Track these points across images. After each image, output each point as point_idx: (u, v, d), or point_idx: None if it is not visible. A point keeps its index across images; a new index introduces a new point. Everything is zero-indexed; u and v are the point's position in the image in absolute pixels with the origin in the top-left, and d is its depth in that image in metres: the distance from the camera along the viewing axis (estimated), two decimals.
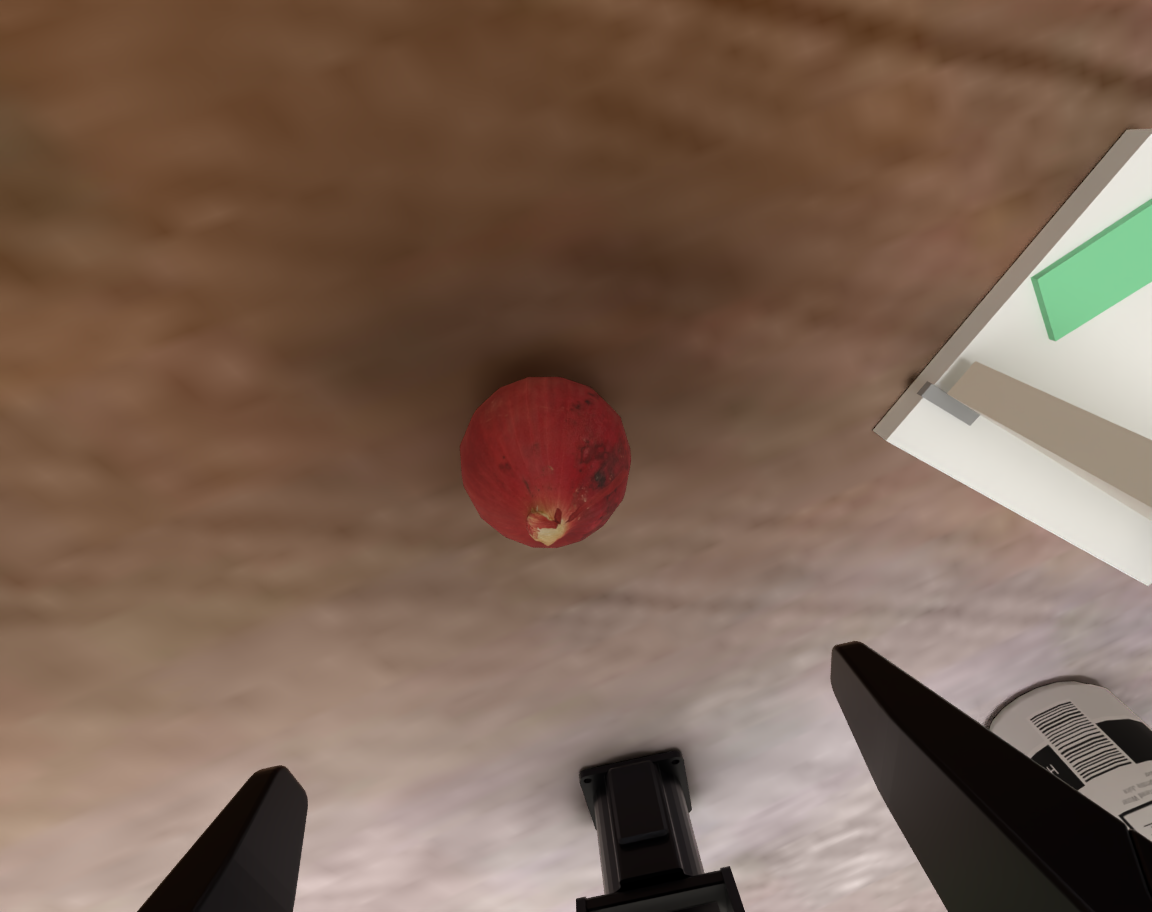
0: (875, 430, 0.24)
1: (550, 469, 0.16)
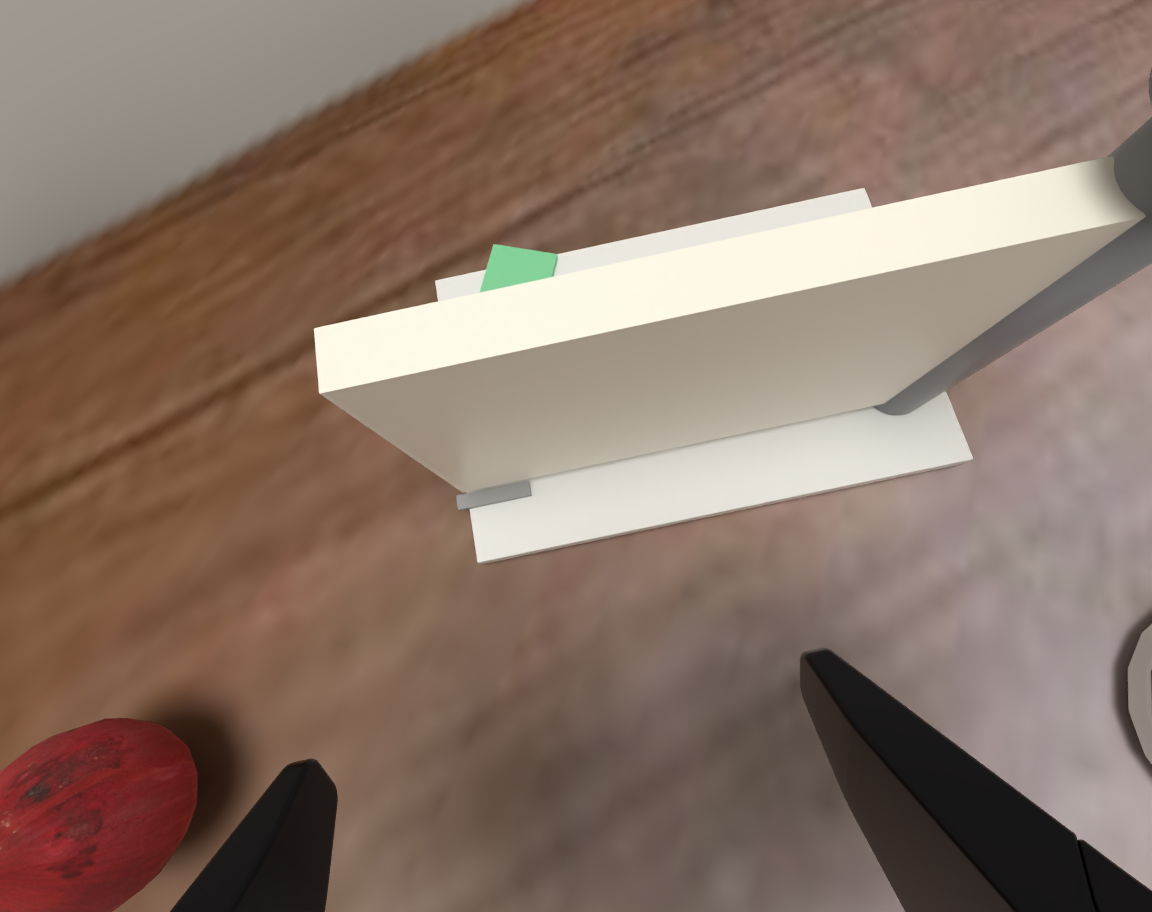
0: (482, 562, 0.23)
1: None
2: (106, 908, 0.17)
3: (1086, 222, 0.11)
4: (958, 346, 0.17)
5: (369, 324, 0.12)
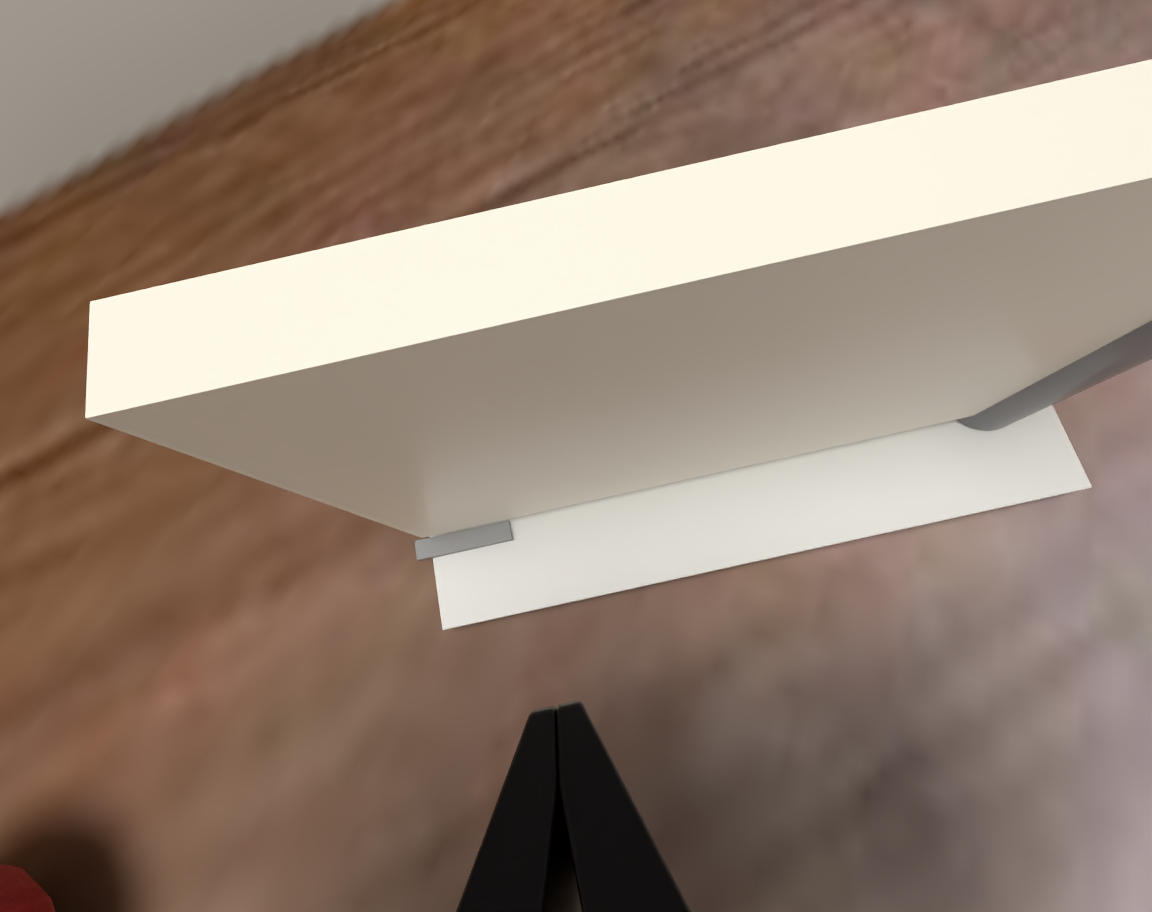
0: None
1: None
2: None
3: None
4: (1117, 334, 0.11)
5: (186, 292, 0.06)
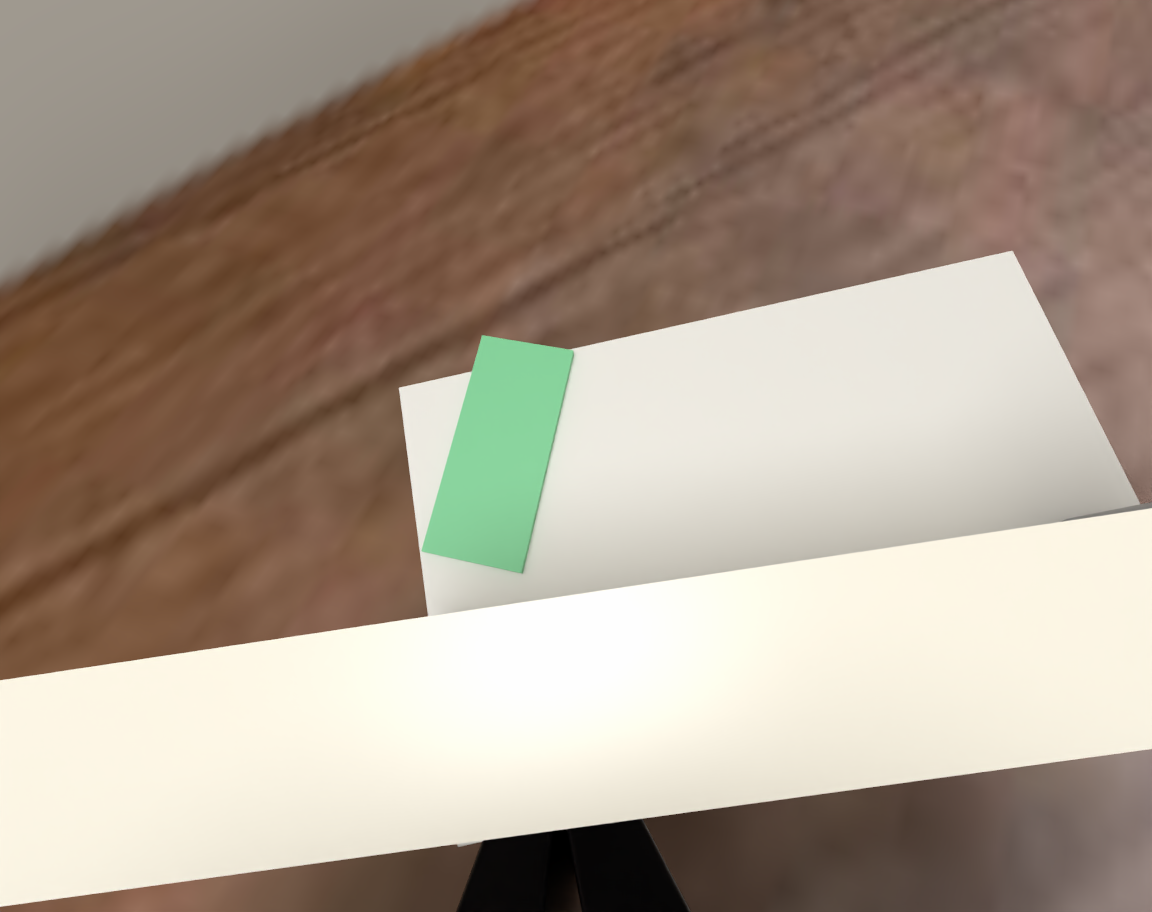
0: None
1: None
2: None
3: None
4: None
5: (84, 697, 0.04)
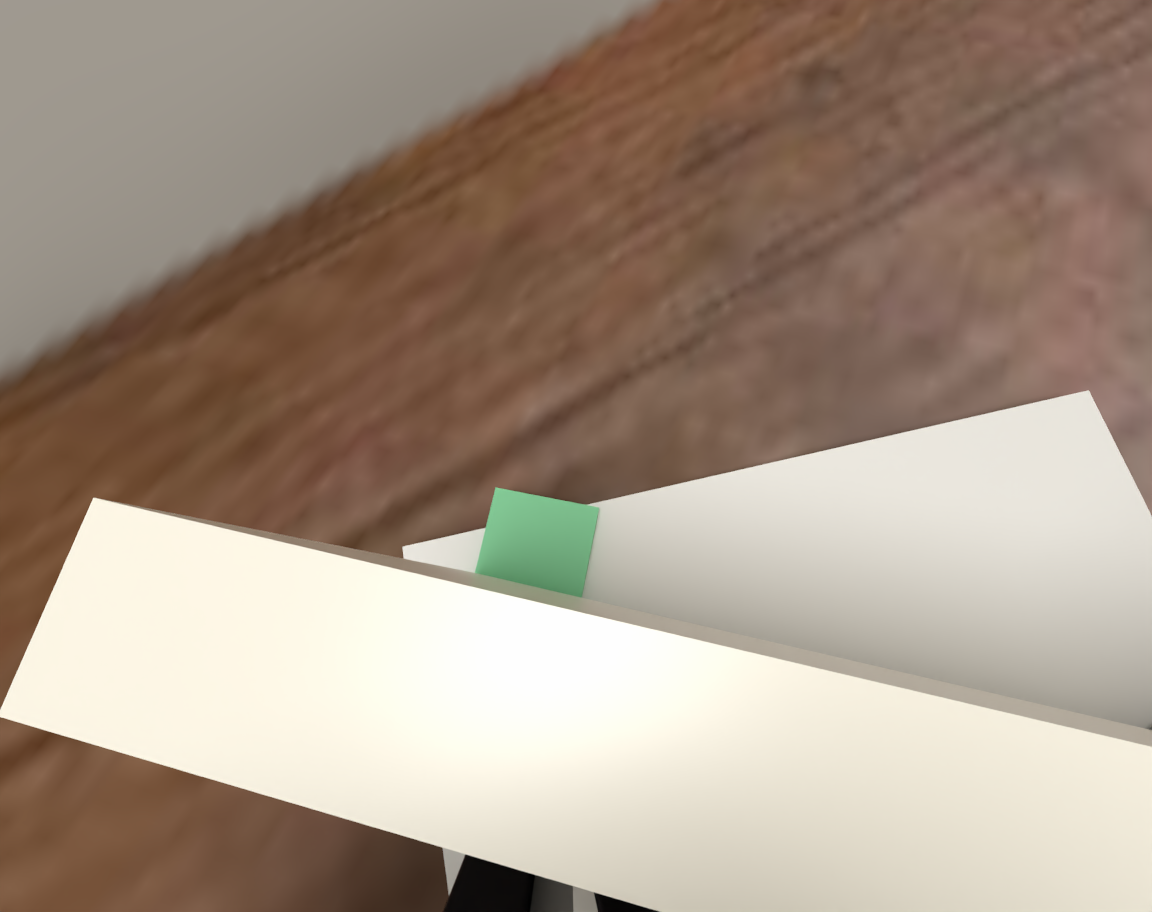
0: None
1: None
2: None
3: None
4: None
5: (228, 561, 0.04)
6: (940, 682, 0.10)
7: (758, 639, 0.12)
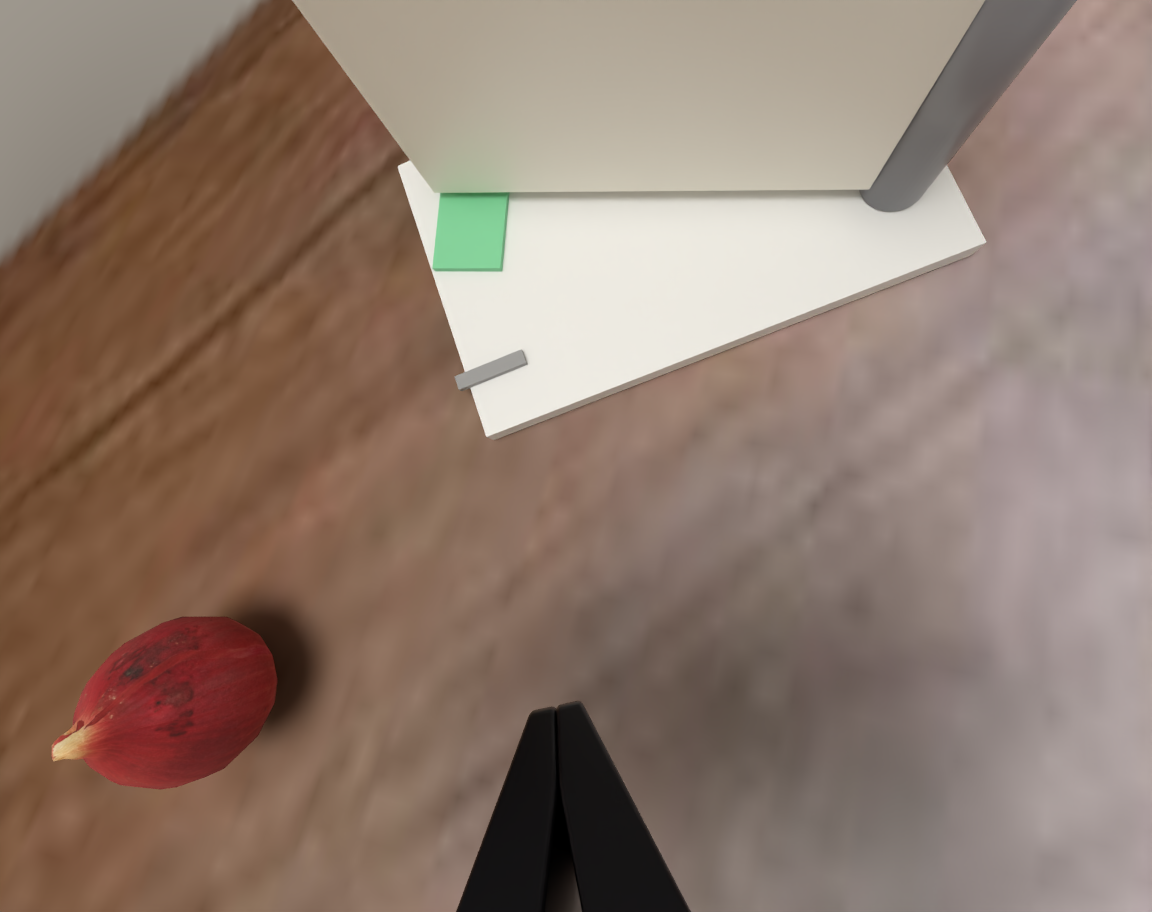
0: (492, 438, 0.23)
1: (84, 696, 0.18)
2: (216, 762, 0.19)
3: None
4: (927, 79, 0.15)
5: None
6: None
7: None
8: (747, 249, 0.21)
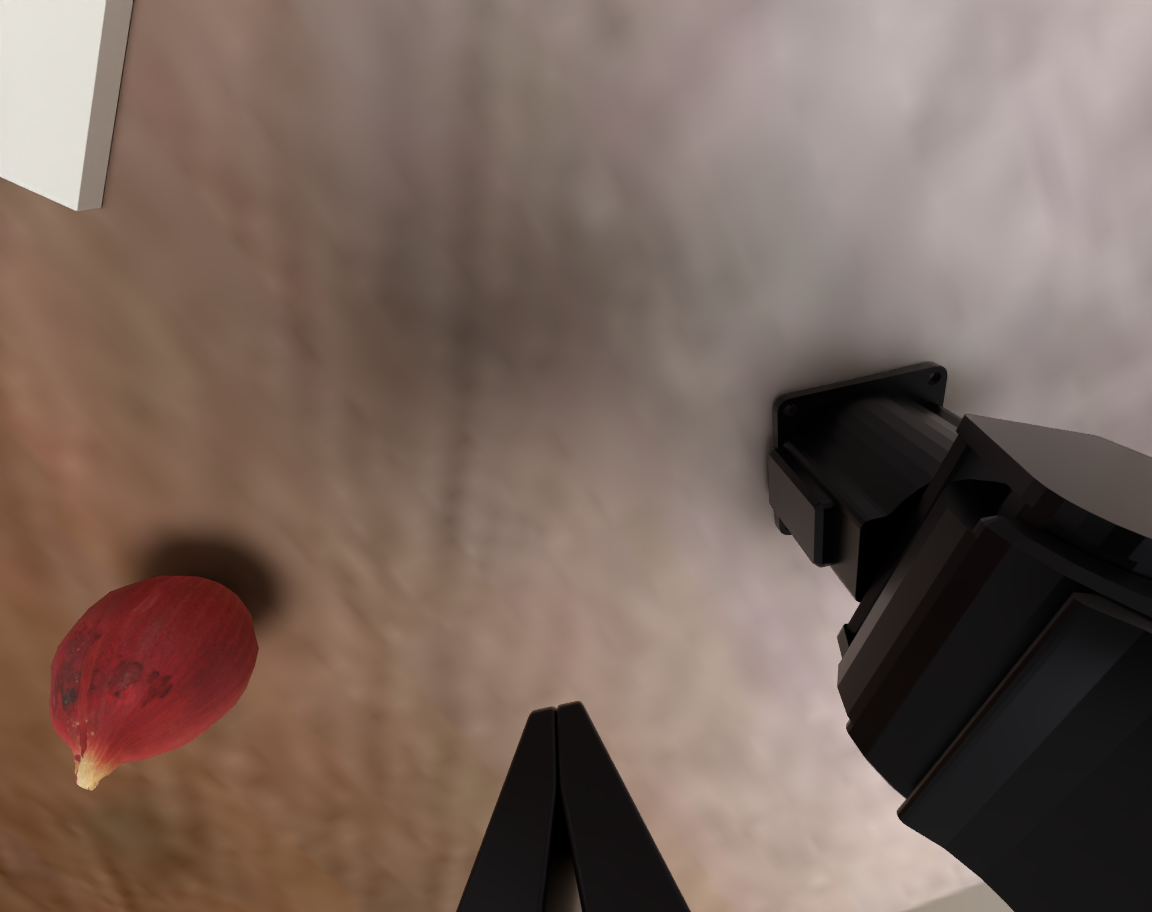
0: (95, 207, 0.16)
1: (63, 740, 0.17)
2: (235, 671, 0.19)
3: None
4: None
5: None
6: None
7: None
8: None
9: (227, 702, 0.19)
